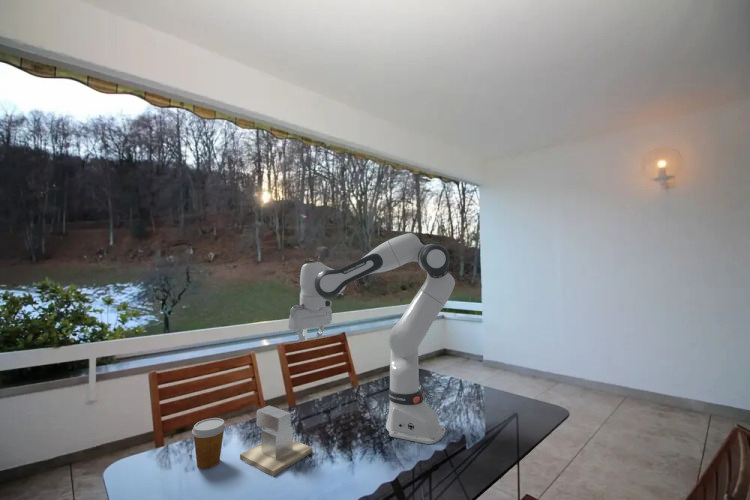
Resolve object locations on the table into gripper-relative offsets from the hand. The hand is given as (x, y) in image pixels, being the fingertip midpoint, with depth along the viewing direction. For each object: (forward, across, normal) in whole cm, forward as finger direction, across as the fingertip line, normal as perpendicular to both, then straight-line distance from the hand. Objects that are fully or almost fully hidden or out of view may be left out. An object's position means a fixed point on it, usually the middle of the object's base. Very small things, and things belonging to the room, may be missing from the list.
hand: (310, 339), depth 135 cm
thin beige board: (+33, -21, -6) cm, 40 cm away
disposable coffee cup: (+33, -36, +8) cm, 50 cm away
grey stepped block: (+32, -21, -4) cm, 38 cm away
